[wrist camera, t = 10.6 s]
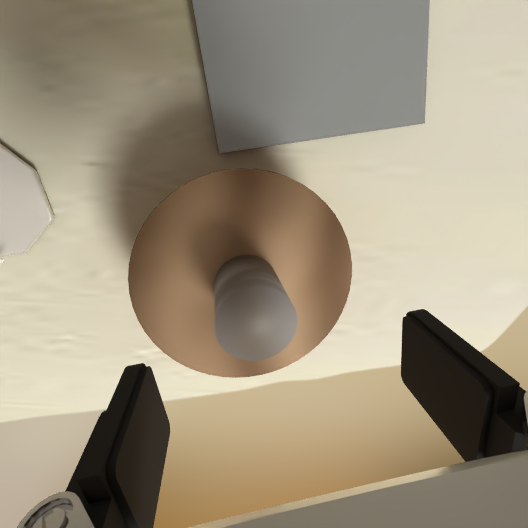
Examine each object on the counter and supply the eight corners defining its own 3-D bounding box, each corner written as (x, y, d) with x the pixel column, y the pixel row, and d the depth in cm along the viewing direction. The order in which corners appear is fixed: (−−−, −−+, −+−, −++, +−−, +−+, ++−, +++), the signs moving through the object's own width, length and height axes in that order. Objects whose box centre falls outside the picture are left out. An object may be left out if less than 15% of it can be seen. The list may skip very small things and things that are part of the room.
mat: (425, -154, 19) (436, -169, 18) (416, 124, 25) (424, 123, 24) (166, -141, 18) (164, -157, 17) (219, 153, 23) (219, 153, 22)
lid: (339, 151, 19) (394, 149, 13) (350, 345, 24) (393, 404, 18) (101, 189, 17) (48, 205, 12) (164, 387, 22) (148, 464, 17)
